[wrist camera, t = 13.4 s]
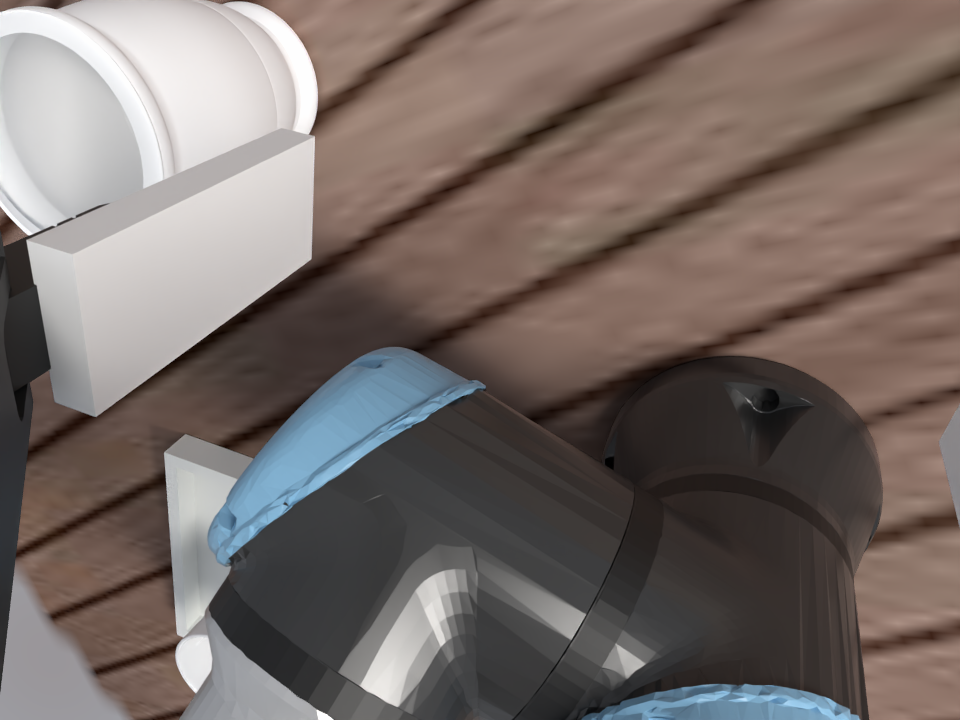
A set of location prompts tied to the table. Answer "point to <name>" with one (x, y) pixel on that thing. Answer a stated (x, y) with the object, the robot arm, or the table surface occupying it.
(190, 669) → the white cup
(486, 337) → the table surface
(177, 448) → the grey tray
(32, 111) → the jar
